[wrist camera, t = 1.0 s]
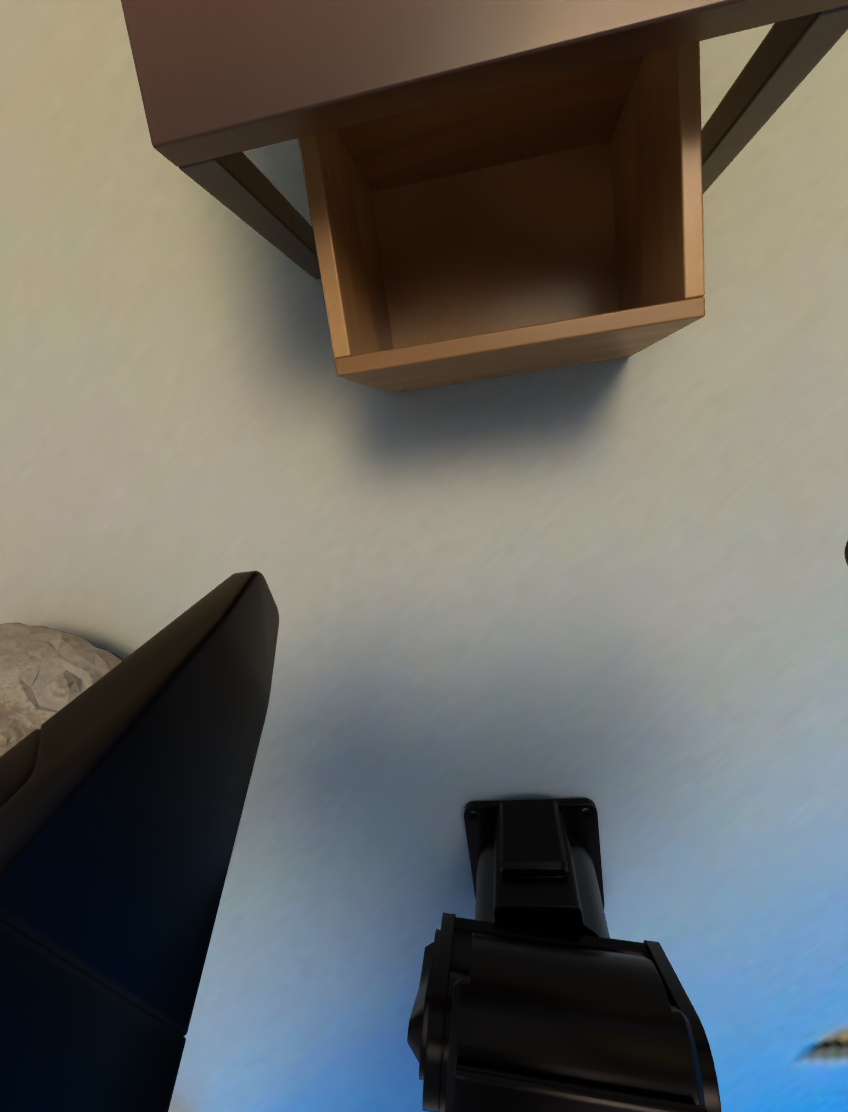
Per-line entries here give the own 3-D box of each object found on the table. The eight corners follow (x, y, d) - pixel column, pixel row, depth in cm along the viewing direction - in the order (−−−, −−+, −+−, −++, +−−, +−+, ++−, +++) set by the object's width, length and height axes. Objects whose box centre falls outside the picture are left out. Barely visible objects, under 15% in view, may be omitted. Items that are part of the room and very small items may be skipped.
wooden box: (631, 356, 21) (706, 316, 14) (390, 393, 23) (336, 376, 15) (620, 130, 20) (697, -60, 12) (360, 188, 21) (283, 52, 14)
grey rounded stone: (290, 849, 30) (188, 1054, 20) (41, 909, 33) (-147, 1106, 24) (145, 553, 26) (-57, 625, 17) (-111, 655, 30) (-398, 762, 20)
